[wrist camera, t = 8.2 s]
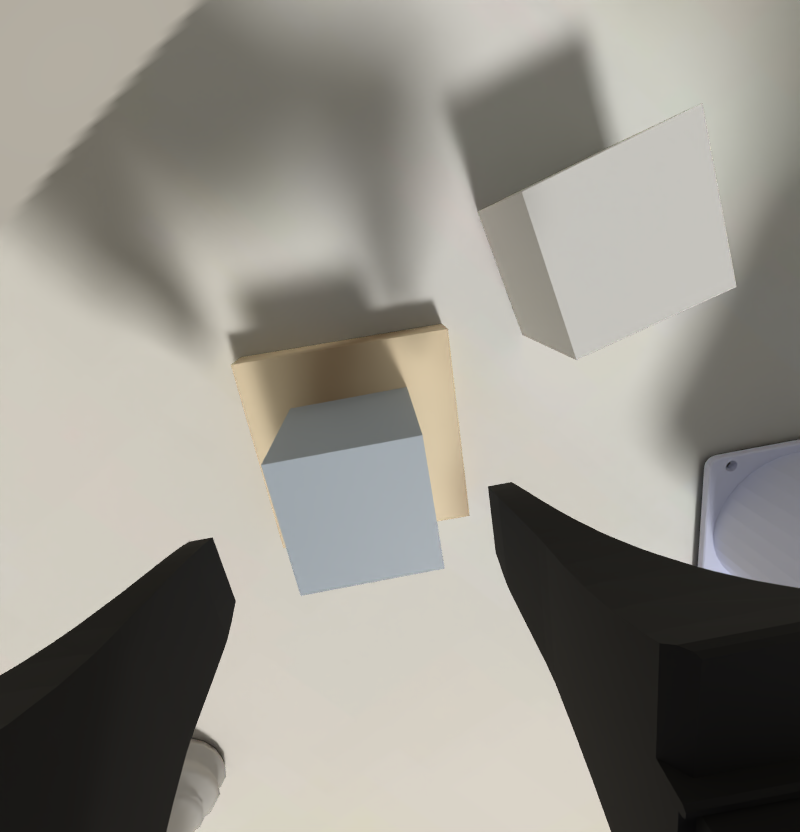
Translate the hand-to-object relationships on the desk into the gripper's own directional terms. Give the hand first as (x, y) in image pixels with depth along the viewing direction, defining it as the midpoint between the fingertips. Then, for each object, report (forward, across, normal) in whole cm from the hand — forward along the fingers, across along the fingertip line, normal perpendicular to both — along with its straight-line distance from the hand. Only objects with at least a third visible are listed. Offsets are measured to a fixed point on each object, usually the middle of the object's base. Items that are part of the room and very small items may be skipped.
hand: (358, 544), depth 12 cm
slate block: (+6, 0, 0) cm, 7 cm away
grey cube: (+8, -9, -6) cm, 13 cm away
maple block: (+8, 0, 0) cm, 9 cm away
